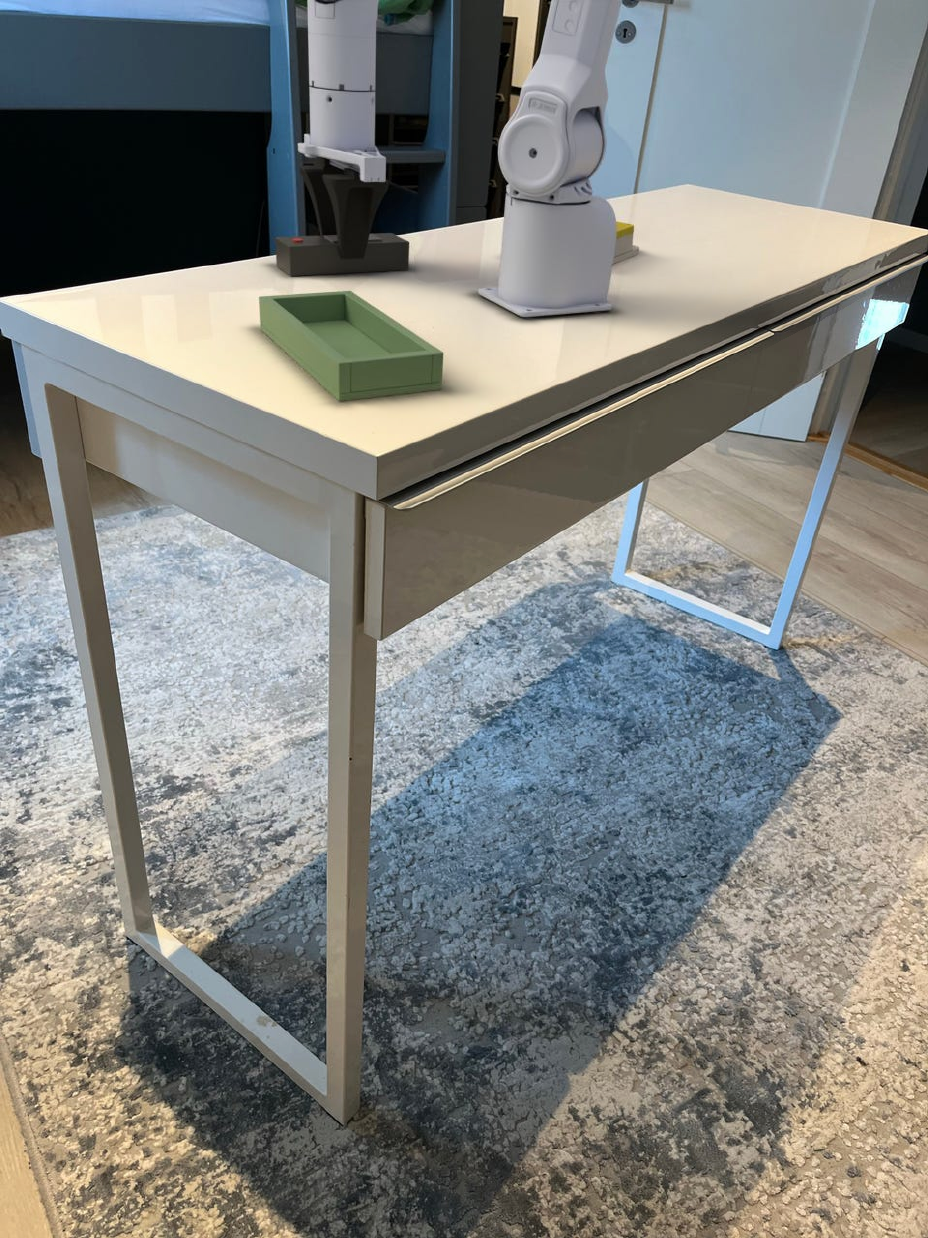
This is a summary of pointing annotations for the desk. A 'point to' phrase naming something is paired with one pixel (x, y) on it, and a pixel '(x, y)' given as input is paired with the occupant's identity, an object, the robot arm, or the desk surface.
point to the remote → (326, 259)
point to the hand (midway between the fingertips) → (343, 252)
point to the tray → (350, 345)
